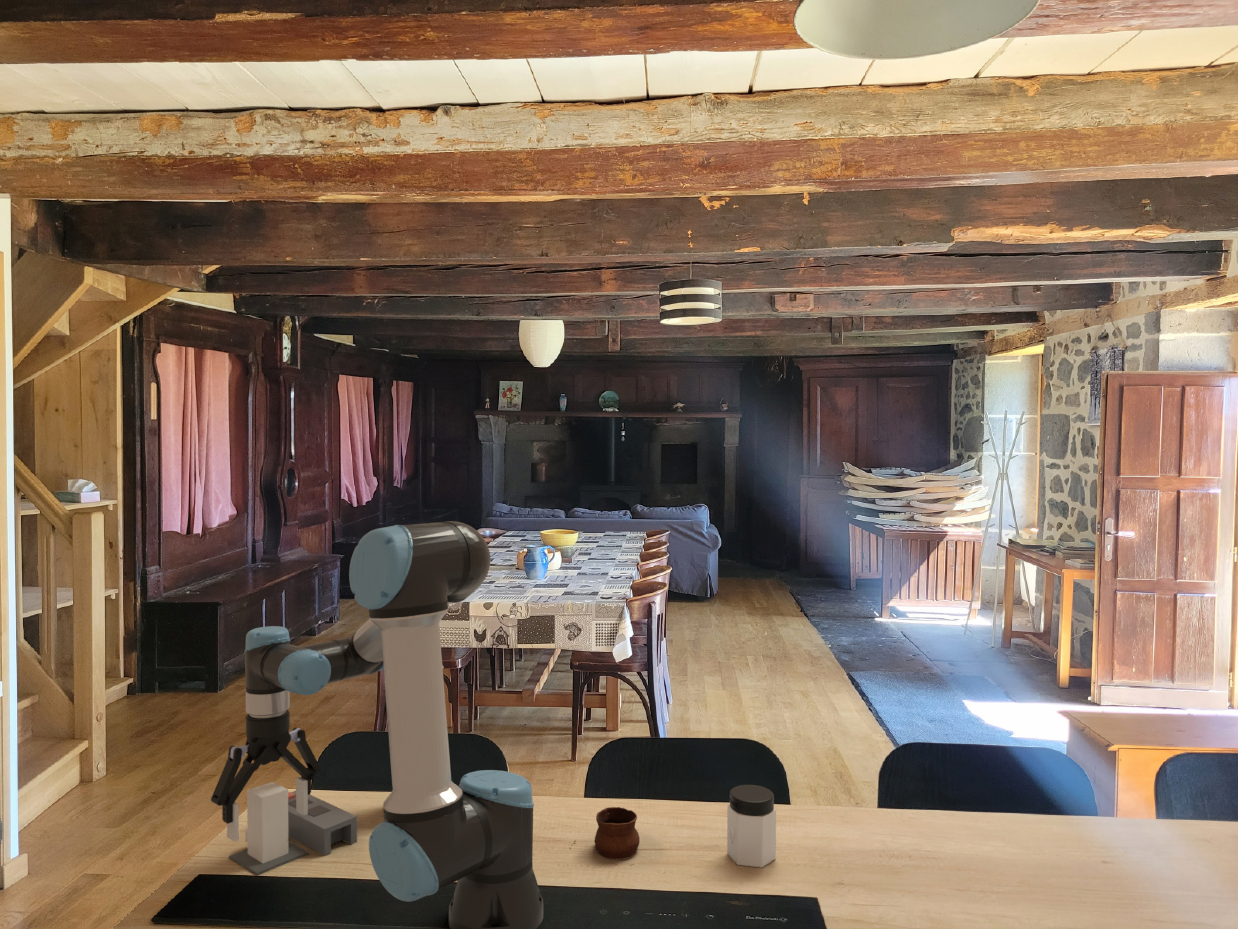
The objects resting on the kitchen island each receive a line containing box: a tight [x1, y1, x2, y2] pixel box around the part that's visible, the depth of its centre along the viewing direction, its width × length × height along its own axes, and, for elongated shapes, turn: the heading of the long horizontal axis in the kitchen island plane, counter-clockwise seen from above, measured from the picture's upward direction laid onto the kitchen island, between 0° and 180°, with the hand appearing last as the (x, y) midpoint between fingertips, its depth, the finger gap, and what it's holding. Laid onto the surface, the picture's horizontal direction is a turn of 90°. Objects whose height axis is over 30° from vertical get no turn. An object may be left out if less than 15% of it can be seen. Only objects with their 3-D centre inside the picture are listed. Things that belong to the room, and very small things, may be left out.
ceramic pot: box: [569, 806, 640, 860], centre depth 162 cm, size 18×18×7 cm
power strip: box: [288, 790, 358, 857], centre depth 167 cm, size 20×7×6 cm, turn 52°
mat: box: [228, 840, 309, 876], centre depth 158 cm, size 10×10×1 cm
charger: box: [244, 781, 289, 863], centre depth 159 cm, size 8×5×12 cm, turn 51°
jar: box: [726, 784, 777, 869], centre depth 159 cm, size 9×8×12 cm
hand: (268, 825), depth 158 cm, fingers open, 13 cm apart
